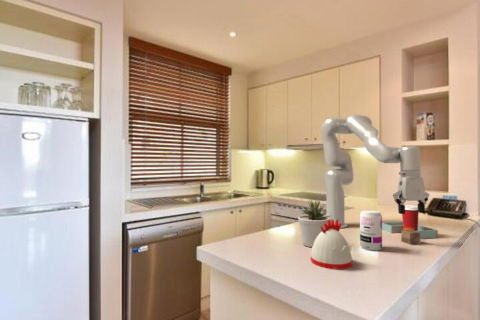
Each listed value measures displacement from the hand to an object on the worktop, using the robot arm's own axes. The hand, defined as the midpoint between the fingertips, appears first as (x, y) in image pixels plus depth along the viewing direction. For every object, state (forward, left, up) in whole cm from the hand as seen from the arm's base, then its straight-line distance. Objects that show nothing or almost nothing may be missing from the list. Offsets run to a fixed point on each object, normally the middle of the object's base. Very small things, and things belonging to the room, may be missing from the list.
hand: (411, 213), depth 122 cm
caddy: (+11, +15, -13) cm, 23 cm away
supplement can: (-22, -4, -13) cm, 26 cm away
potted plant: (-43, +4, -13) cm, 45 cm away
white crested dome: (-46, -16, -13) cm, 50 cm away
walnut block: (0, 0, -13) cm, 13 cm away
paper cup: (+10, +12, -13) cm, 20 cm away
